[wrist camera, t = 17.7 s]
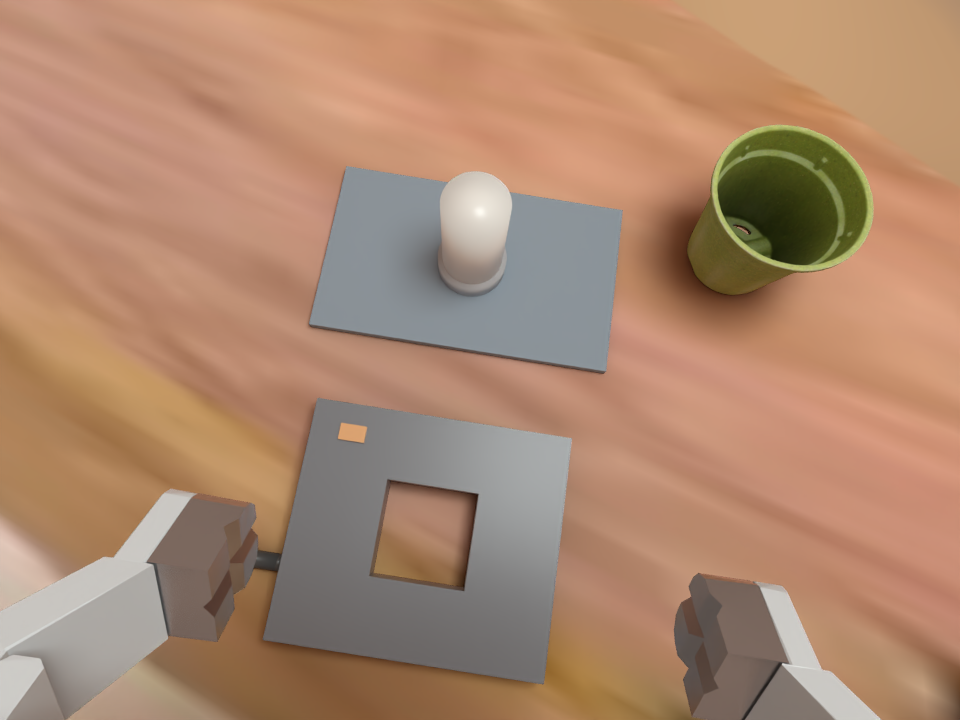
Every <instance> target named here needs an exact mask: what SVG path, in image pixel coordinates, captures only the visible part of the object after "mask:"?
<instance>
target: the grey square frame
mask: <svg viewBox="0 0 960 720" xmlns="http://www.w3.org/2000/svg"><path fill="white" fill-rule="evenodd" d="M571 442H572V438H566V437H560V436H554V435H547V434H541V433H535V432H528V431H522V430H516V429H510V428H503V427H497V426H491V425H484V424H478V423H472V422H466V421H459V420H453V419H447V418H440V417H434V416H428V415H422V414H415V413H409V412H403V411H396V410H390V409H384V408H377V407H371V406H365V405H359V404H352V403H346V402H340V401H333V400H327V399H321V398H317V403H316V407H315V411H314V416H313V420H312V425H311V429H310V433H309V438H308V442H307V447H306V451H305V456H304V460H303V464H302V469H301V473H300V478H299V482H298V486H297V491H296V495H295V500H294V504H293V509H292V513H291V517H290V522H289V526H288V531H287V535H286V539H285V544H284V548H283V553H282V554H279V553H272V552H266V551H260V550H258V551H257V558H256V561H255V565H254V568H260V569H266V570H272V571H278V575H277V579H276V584H275V588H274V592H273V597H272V601H271V606H270V610H269V614H268V619H267V623H266V628H265V632H264V637H263V640H266V641H272V642H279V643H285V644H291V645H298V646H304V647H310V648H317V649H323V650H329V651H336V652H342V653H348V654H355V655H361V656H367V657H374V658H380V659H386V660H393V661H399V662H405V663H411V664H418V665H424V666H430V667H437V668H443V669H449V670H456V671H462V672H468V673H475V674H481V675H487V676H494V677H500V678H506V679H513V680H519V681H525V682H532V683H538V684H544V678H545V669H546V660H547V652H548V643H549V634H550V625H551V617H552V608H553V599H554V590H555V582H556V573H557V564H558V555H559V547H560V538H561V529H562V520H563V512H564V503H565V494H566V485H567V477H568V468H569V459H570V450H571ZM391 481H395V482H401V483H407V484H413V485H420V486H426V487H432V488H439V489H445V490H451V491H458V492H464V493H470V494H476V495H478V496H477V503H476V509H475V516H474V523H473V529H472V536H471V543H470V549H469V556H468V563H467V569H466V576H465V582H464V587H459V586H453V585H446V584H440V583H434V582H427V581H421V580H415V579H408V578H402V577H396V576H390V575H383V574H377V573H374V567H375V562H376V557H377V551H378V546H379V541H380V535H381V530H382V525H383V519H384V514H385V509H386V504H387V498H388V493H389V488H390V482H391Z"/></svg>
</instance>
